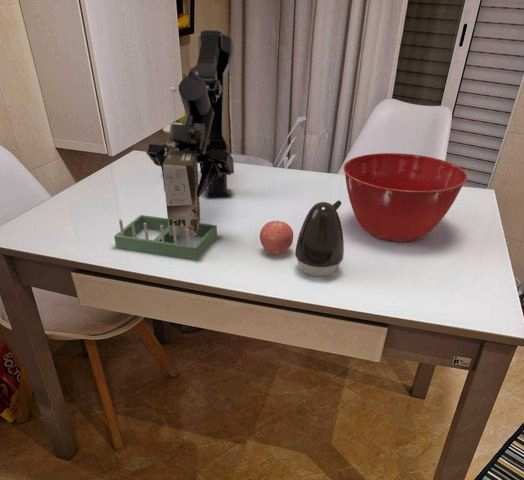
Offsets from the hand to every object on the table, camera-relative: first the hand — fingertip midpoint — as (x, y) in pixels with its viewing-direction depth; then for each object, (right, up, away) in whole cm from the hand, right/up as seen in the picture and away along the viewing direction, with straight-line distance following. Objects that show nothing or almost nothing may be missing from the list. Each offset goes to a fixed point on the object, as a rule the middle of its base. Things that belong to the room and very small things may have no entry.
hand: (181, 194), depth 109 cm
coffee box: (0, -6, +5) cm, 8 cm away
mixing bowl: (+51, -4, +17) cm, 54 cm away
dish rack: (-5, -9, +9) cm, 13 cm away
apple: (+21, -12, +6) cm, 25 cm away
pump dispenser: (+30, -17, -1) cm, 35 cm away
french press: (-8, +21, +48) cm, 53 cm away
